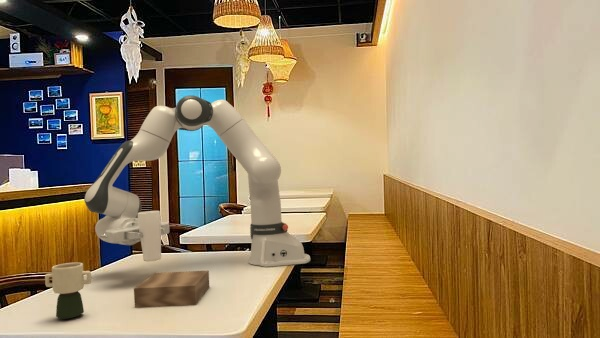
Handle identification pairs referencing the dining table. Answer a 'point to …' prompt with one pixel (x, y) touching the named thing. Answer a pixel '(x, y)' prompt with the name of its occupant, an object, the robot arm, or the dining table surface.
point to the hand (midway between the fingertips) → (151, 233)
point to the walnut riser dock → (172, 289)
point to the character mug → (68, 288)
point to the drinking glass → (150, 234)
